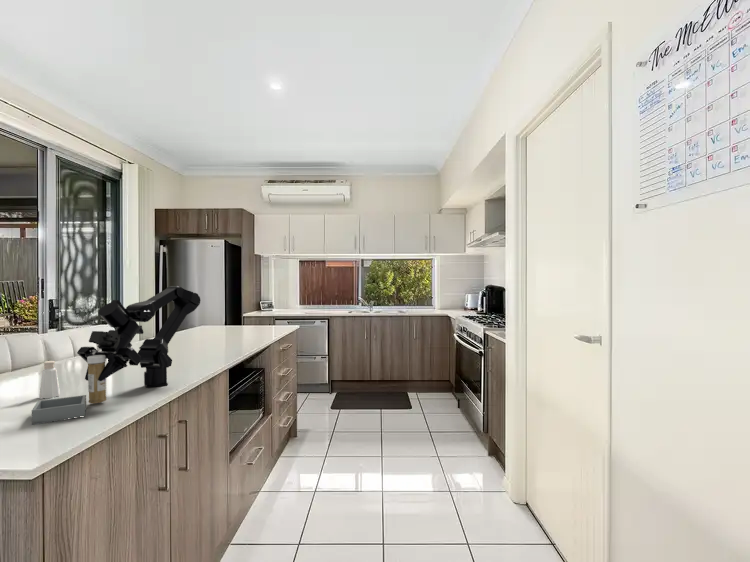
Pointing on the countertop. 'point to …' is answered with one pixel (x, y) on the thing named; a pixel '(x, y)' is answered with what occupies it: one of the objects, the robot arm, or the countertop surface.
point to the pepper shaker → (49, 381)
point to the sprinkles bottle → (96, 378)
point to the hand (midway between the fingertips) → (92, 380)
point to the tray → (58, 409)
